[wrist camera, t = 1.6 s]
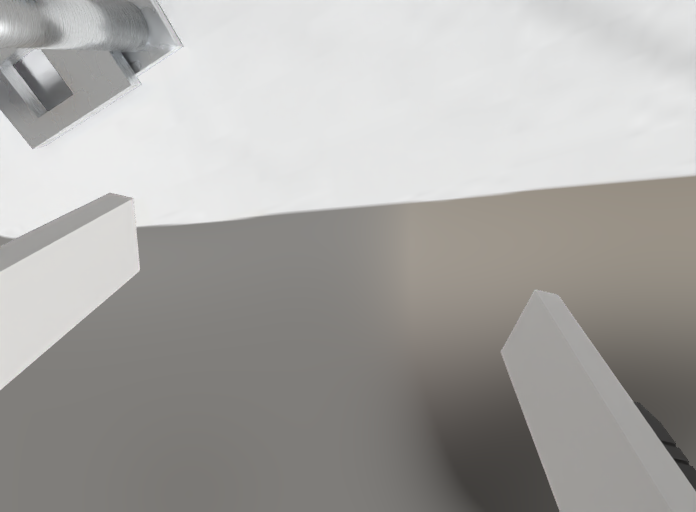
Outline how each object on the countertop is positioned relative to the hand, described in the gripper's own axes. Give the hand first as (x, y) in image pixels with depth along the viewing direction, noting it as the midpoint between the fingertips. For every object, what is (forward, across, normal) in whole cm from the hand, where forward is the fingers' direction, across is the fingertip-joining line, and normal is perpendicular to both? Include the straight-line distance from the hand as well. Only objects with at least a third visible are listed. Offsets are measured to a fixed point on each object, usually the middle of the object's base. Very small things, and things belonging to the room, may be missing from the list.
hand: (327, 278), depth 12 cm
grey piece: (+24, -28, +4) cm, 38 cm away
